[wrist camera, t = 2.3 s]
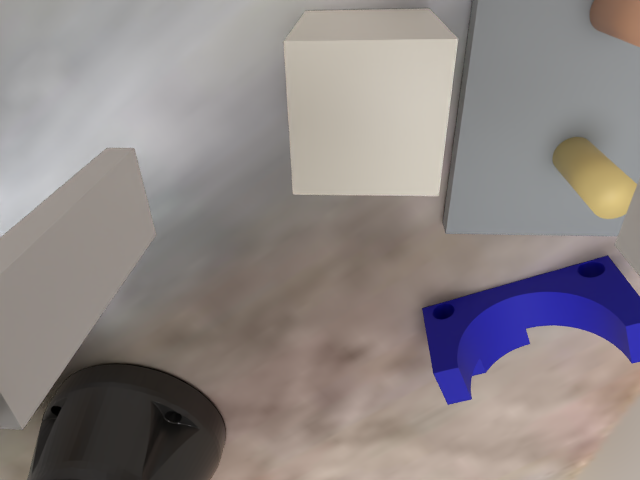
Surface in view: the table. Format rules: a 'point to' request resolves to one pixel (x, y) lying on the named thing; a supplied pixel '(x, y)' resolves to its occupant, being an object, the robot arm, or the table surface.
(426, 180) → the cream rectangular block
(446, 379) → the blue arched piece
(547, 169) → the board
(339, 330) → the table surface
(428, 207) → the table surface
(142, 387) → the robot arm
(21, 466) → the table surface
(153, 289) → the table surface
